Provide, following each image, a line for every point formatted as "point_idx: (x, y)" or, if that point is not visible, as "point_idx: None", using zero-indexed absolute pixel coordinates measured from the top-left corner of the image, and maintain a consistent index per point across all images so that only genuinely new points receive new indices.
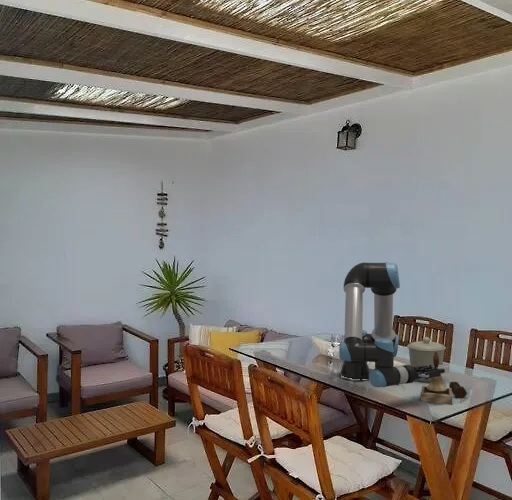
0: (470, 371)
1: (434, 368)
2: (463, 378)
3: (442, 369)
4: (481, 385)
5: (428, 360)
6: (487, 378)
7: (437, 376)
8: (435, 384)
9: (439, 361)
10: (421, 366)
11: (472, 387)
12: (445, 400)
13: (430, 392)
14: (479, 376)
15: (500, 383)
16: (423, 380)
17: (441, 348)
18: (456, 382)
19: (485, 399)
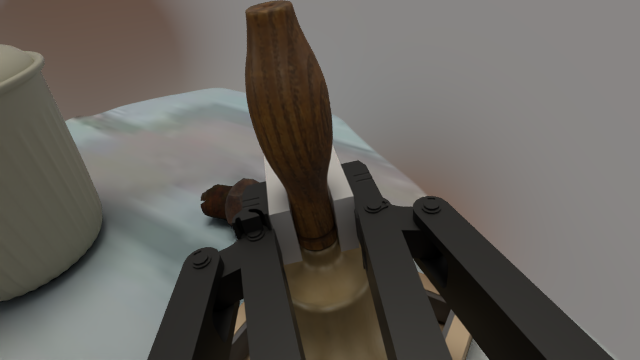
0: (111, 120)
1: (302, 217)
2: (145, 149)
3: (359, 174)
4: (237, 136)
5: (5, 169)
6: (191, 111)
7: (354, 261)
8: (377, 332)
9: (63, 137)
10: (180, 327)
11: (241, 159)
12: (465, 353)
13: (245, 355)
14: (163, 118)
15: (247, 103)
16: (46, 280)
17: (26, 58)
18: (247, 183)
19: (391, 172)
